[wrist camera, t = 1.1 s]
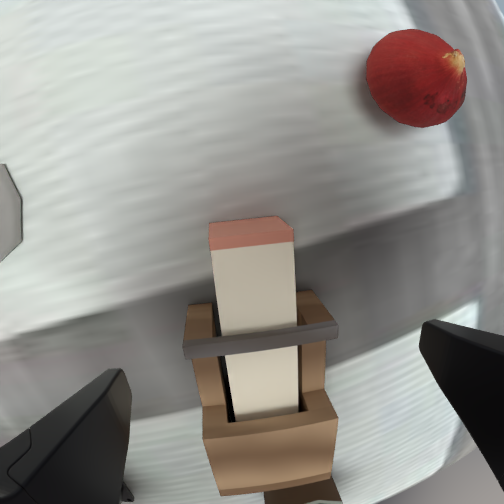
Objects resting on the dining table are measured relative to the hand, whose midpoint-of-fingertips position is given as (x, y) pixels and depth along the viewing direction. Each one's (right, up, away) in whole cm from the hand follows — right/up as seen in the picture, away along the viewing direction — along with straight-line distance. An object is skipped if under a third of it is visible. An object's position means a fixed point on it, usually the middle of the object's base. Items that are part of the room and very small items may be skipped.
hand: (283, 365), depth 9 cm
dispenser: (0, -6, +14) cm, 15 cm away
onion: (+8, +14, +10) cm, 19 cm away
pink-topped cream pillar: (-1, -2, +13) cm, 13 cm away
